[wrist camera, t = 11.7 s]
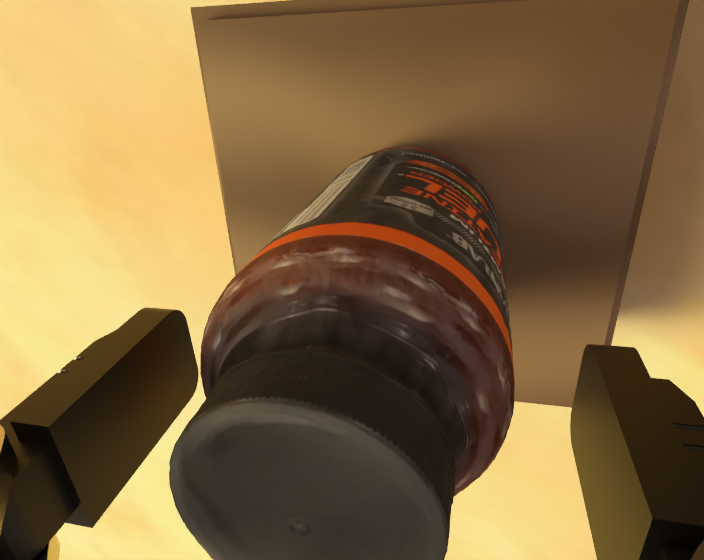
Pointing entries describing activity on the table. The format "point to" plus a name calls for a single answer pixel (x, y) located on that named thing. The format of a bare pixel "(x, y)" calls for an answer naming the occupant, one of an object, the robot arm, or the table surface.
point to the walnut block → (458, 133)
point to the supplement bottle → (354, 372)
